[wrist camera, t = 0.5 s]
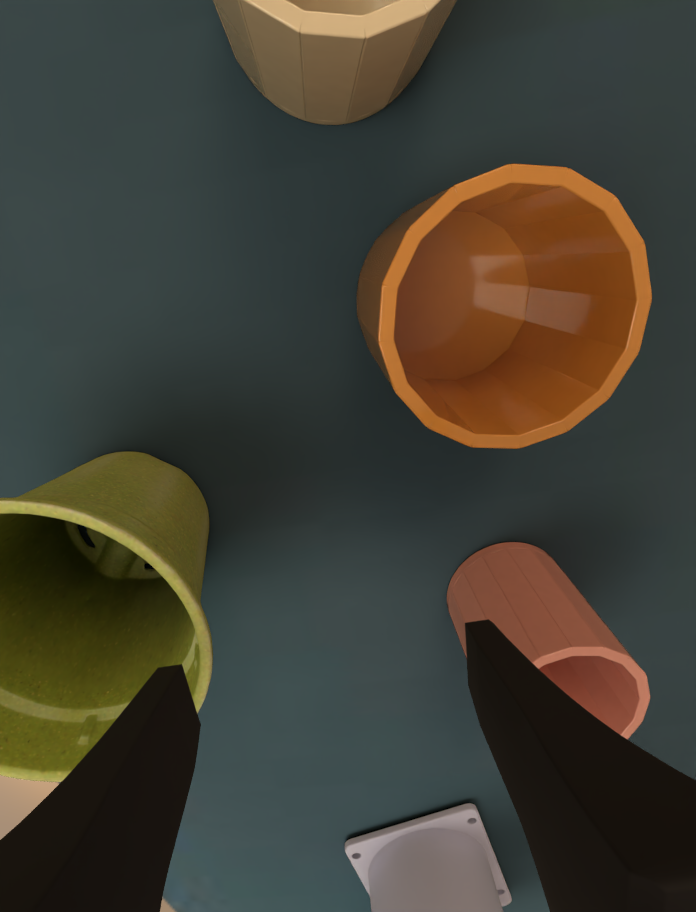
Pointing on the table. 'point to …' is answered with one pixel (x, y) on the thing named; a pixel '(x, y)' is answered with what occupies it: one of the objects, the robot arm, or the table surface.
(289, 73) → the cream cup
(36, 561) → the plant pot
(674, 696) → the table surface
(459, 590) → the rose cup
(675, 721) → the table surface
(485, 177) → the ochre cup
